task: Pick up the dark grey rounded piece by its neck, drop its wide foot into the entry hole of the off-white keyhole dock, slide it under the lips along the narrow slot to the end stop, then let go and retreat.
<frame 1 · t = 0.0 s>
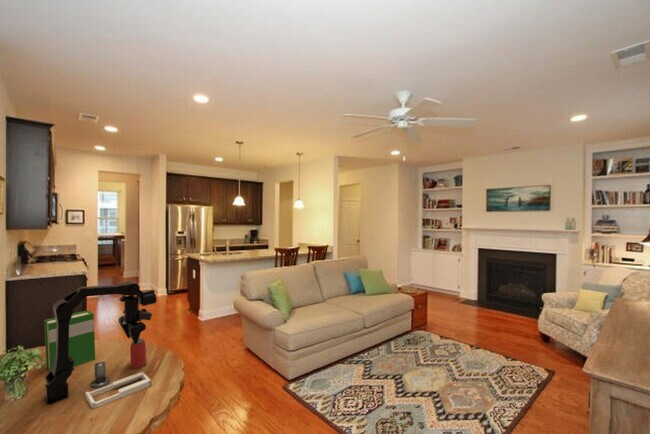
hand: (132, 340, 152), 15 cm above the table, fingers open, 9 cm apart
keyhole dock: (120, 391, 136), on the table
beer can: (138, 365, 158), on the table
hardback book: (71, 364, 158), on the table
dark grey rounded piece: (100, 383, 142), on the table
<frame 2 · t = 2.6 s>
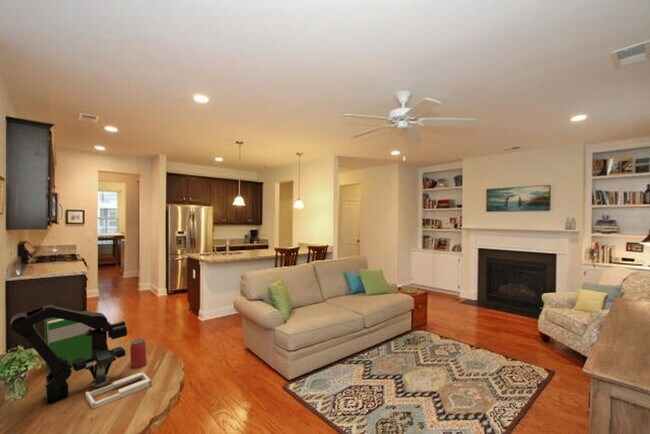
hand: (100, 376, 142), 3 cm above the table, fingers closed on dark grey rounded piece, 4 cm apart
dark grey rounded piece: (100, 383, 142), on the table, touching gripper
everything else where it was.
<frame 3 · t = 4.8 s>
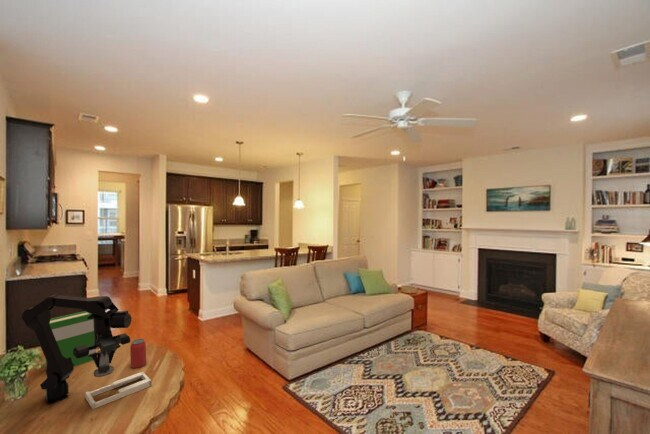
hand: (103, 365, 132), 13 cm above the table, fingers closed on dark grey rounded piece, 4 cm apart
dark grey rounded piece: (104, 372, 133), point 10 cm above the table, touching gripper
everything else where it was.
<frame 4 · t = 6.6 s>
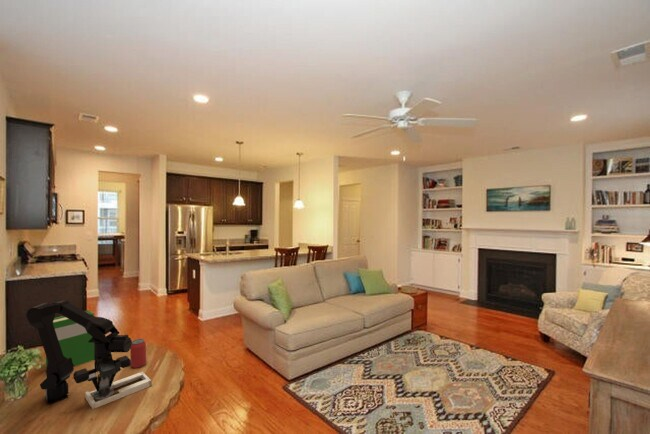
hand: (103, 388, 132), 4 cm above the table, fingers closed on dark grey rounded piece, 4 cm apart
dark grey rounded piece: (104, 395, 132), point 1 cm above the table, touching gripper
everything else where it was.
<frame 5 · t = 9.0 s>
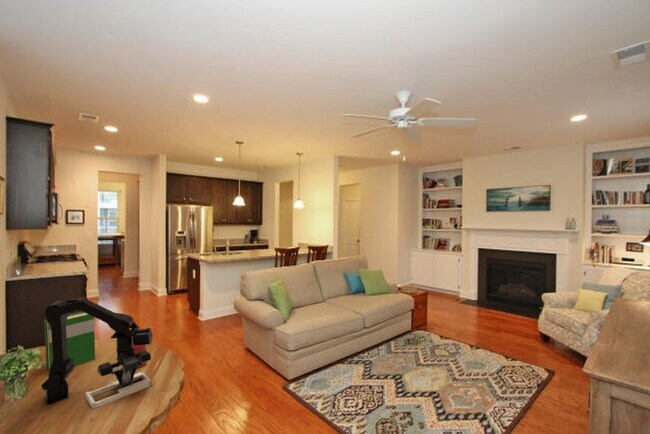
hand: (125, 381, 138), 3 cm above the table, fingers closed on dark grey rounded piece, 4 cm apart
dark grey rounded piece: (126, 388, 138), resting in keyhole dock, touching gripper
everything else where it was.
when the fingers open (3 cm above the table, at t = 10.9 s): dark grey rounded piece stays where it is, resting in keyhole dock.
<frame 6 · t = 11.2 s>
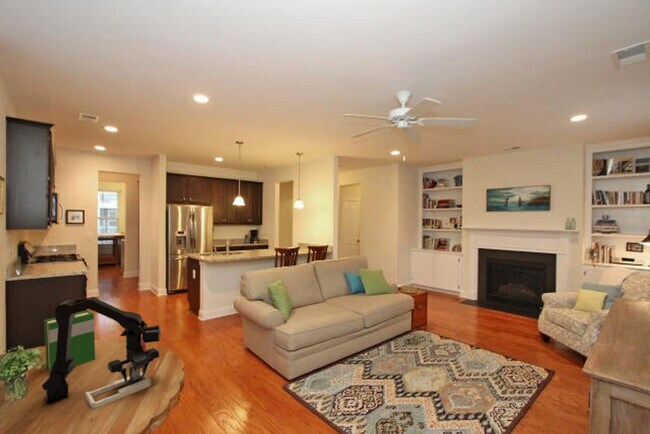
hand: (134, 378, 140), 3 cm above the table, fingers open, 7 cm apart
dark grey rounded piece: (135, 385, 141), resting in keyhole dock
everything else where it was.
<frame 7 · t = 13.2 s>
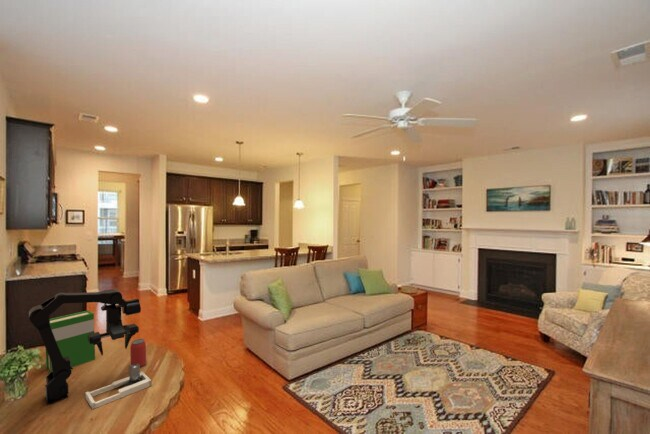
hand: (114, 351, 145), 13 cm above the table, fingers open, 9 cm apart
nothing on the table moved.
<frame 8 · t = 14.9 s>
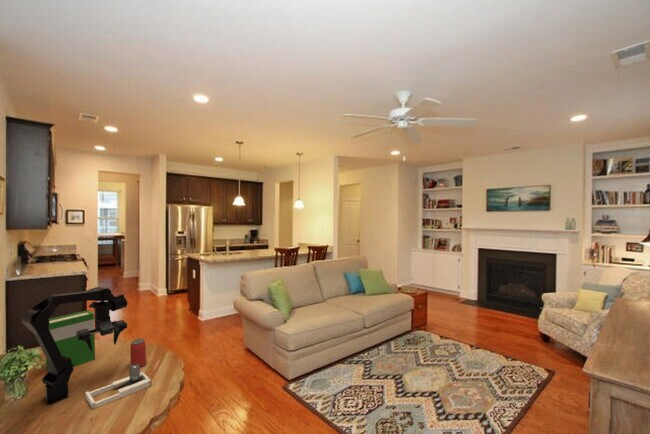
hand: (103, 347, 148), 13 cm above the table, fingers open, 9 cm apart
nothing on the table moved.
at the end: dark grey rounded piece 0.0 cm from the target spot on the keyhole dock, point 0.0 cm above the keyhole dock's base; dark grey rounded piece tilted 0°; the gripper is holding nothing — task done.
